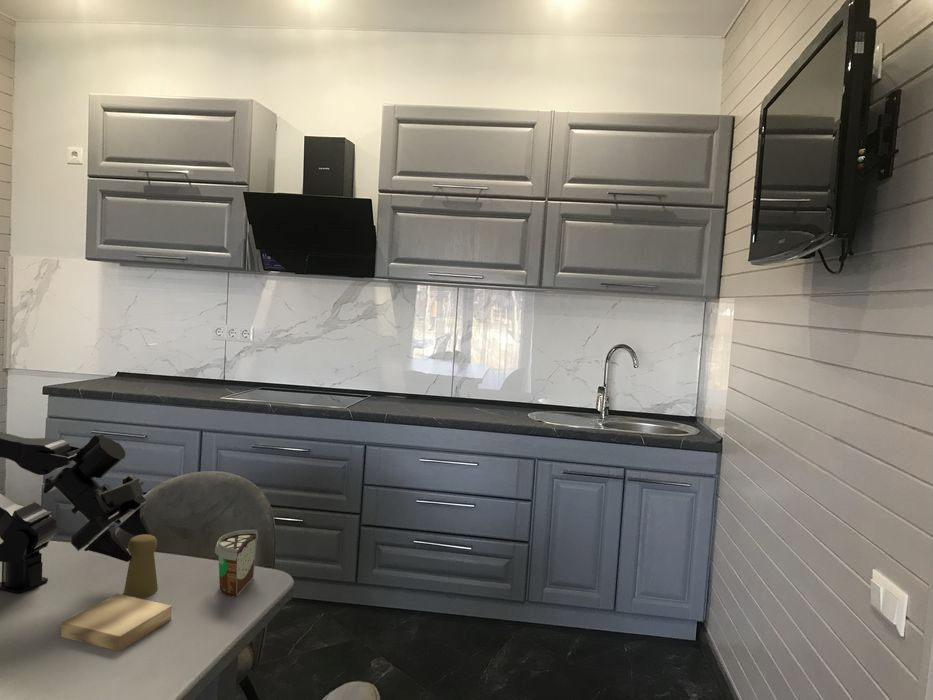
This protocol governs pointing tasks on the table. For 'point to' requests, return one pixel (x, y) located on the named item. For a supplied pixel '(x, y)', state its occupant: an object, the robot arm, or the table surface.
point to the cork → (141, 567)
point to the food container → (236, 560)
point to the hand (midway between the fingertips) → (141, 551)
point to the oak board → (116, 621)
